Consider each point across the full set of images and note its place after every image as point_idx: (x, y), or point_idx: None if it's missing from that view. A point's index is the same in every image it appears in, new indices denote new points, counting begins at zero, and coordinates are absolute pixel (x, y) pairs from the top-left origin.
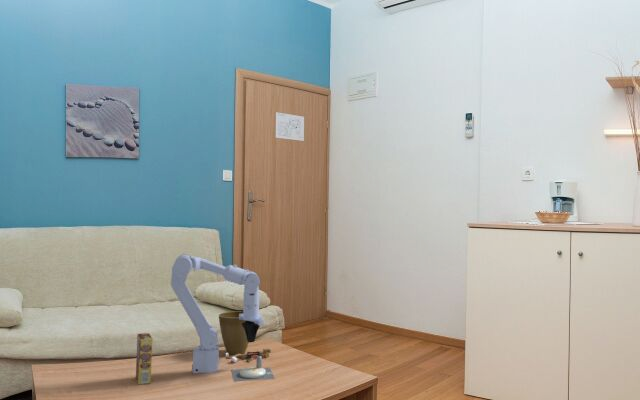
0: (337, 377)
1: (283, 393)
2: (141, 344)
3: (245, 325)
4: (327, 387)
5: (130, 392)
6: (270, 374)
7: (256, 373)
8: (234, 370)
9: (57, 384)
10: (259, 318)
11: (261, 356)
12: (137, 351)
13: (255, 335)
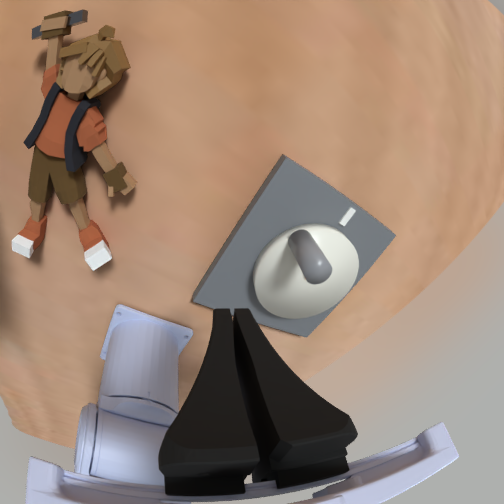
0: (491, 72)
1: (442, 266)
2: None
3: (253, 474)
4: (499, 162)
5: None
6: (359, 220)
7: (342, 283)
8: (209, 296)
9: None
10: (376, 491)
11: (327, 262)
12: None
13: (268, 345)
